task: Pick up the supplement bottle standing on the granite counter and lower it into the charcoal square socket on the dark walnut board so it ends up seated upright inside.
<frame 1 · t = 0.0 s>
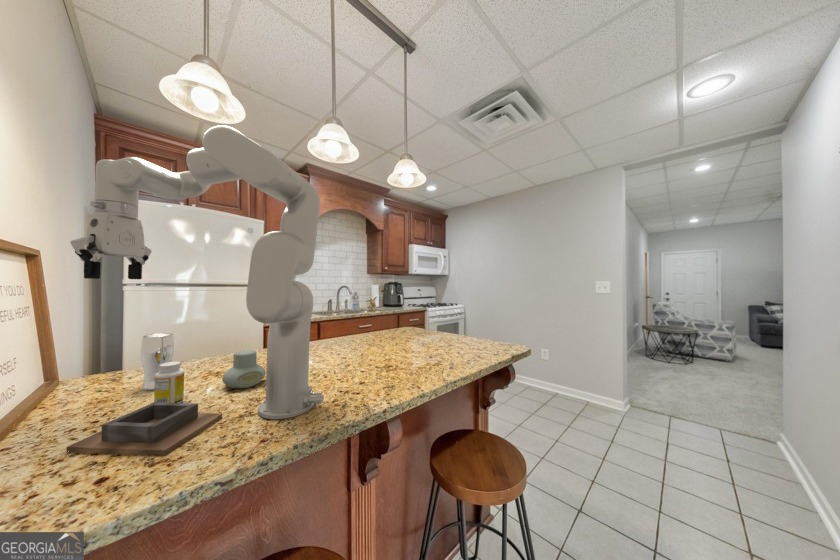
hand: (114, 278, 71), 31 cm above the countertop, tool pointing down, fingers open, 9 cm apart
air freshener: (244, 386, 84), on the countertop
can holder: (153, 433, 57), on the countertop
supplement bottle: (168, 405, 70), on the countertop
beer glass: (156, 387, 82), on the countertop
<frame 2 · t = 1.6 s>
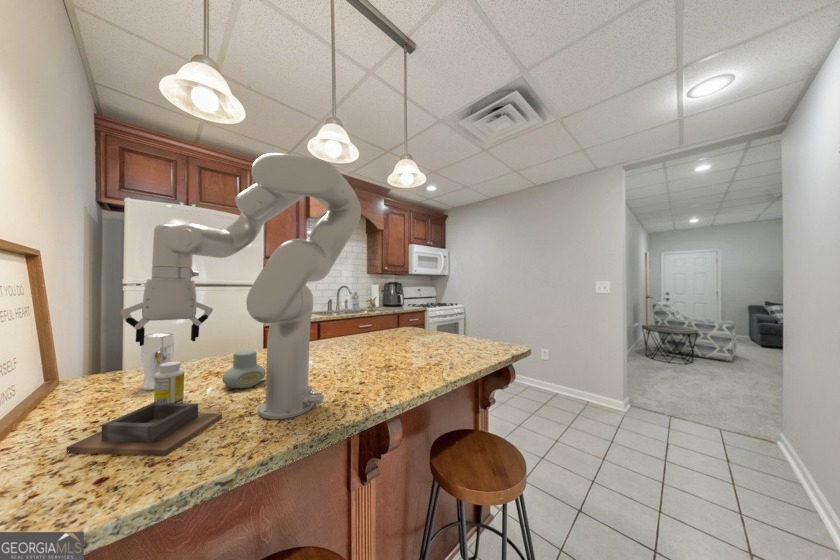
hand: (168, 342, 70), 15 cm above the countertop, tool pointing down, fingers open, 9 cm apart
nothing on the countertop moved.
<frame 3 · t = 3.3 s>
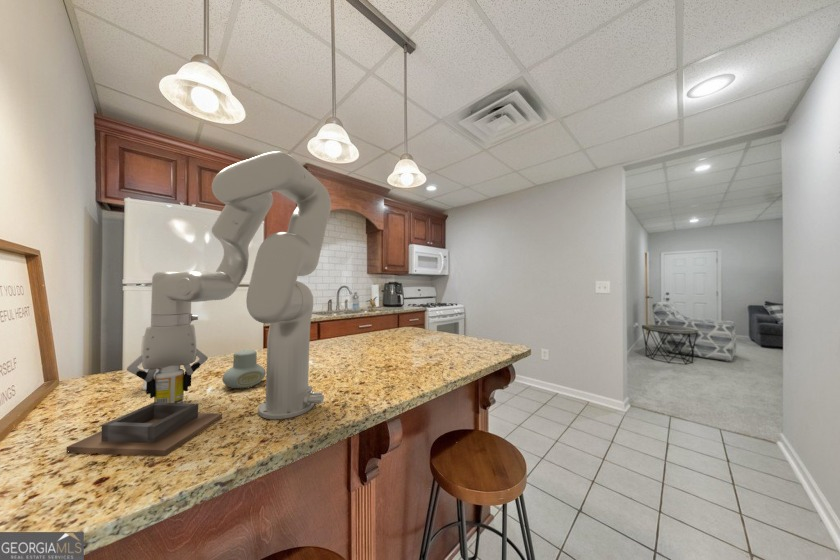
hand: (169, 392, 70), 3 cm above the countertop, tool pointing down, fingers closed on supplement bottle, 5 cm apart
supplement bottle: (168, 405, 70), on the countertop, touching gripper
everything else where it was.
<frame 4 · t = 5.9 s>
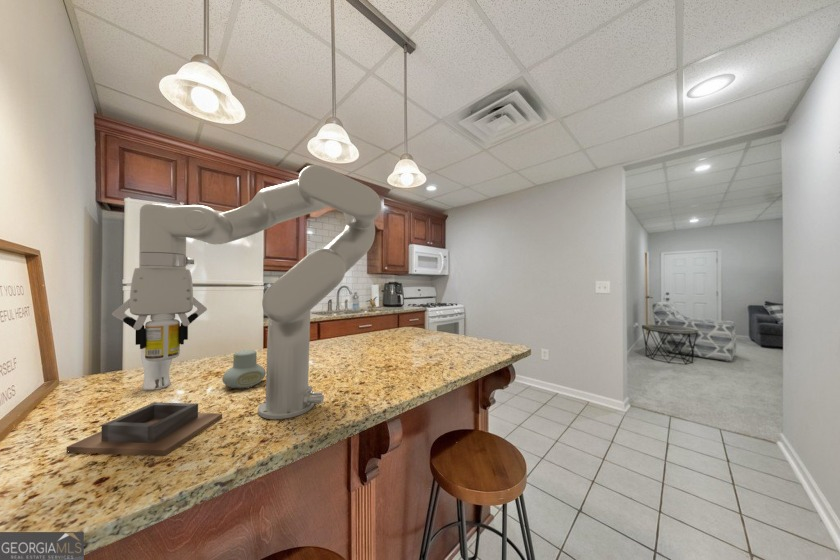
hand: (162, 344, 61), 17 cm above the countertop, tool pointing down, fingers closed on supplement bottle, 5 cm apart
supplement bottle: (162, 359, 61), point 14 cm above the countertop, touching gripper
everything else where it was.
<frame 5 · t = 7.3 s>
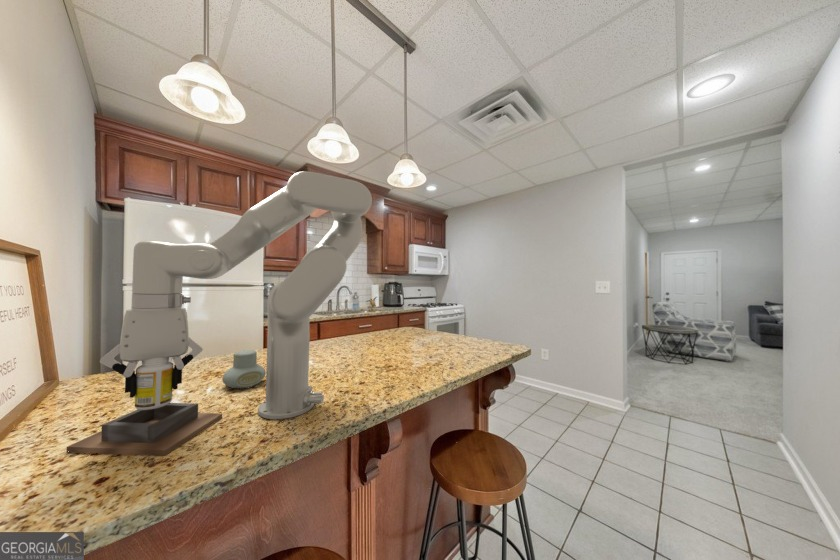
hand: (154, 390, 57), 9 cm above the countertop, tool pointing down, fingers closed on supplement bottle, 5 cm apart
supplement bottle: (153, 406, 57), point 5 cm above the countertop, touching gripper
everything else where it was.
when the fingers open (5 cm above the countertop, at t = 8.5 s): supplement bottle drops 1 cm, resting on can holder.
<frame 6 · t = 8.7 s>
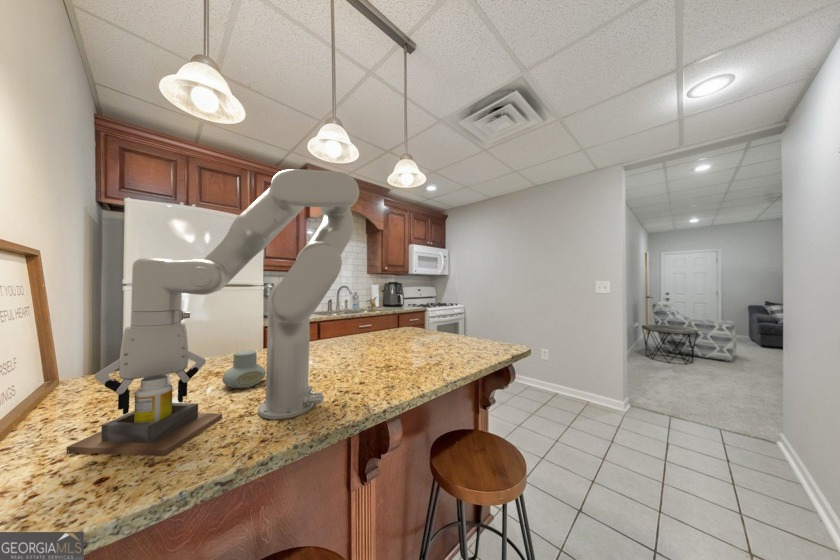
hand: (154, 405, 57), 6 cm above the countertop, tool pointing down, fingers open, 7 cm apart
supplement bottle: (153, 429, 57), point 1 cm above the countertop, touching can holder
everything else where it was.
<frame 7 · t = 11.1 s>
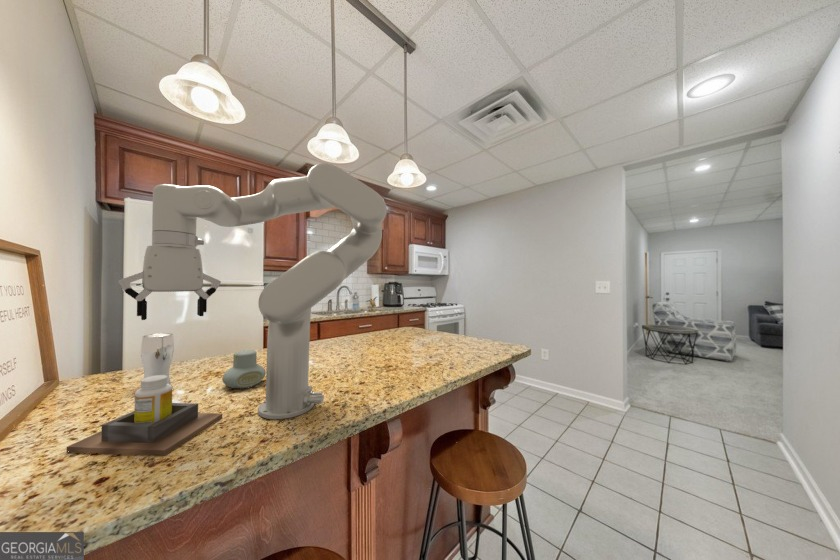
hand: (173, 317, 63), 23 cm above the countertop, tool pointing down, fingers open, 9 cm apart
nothing on the countertop moved.
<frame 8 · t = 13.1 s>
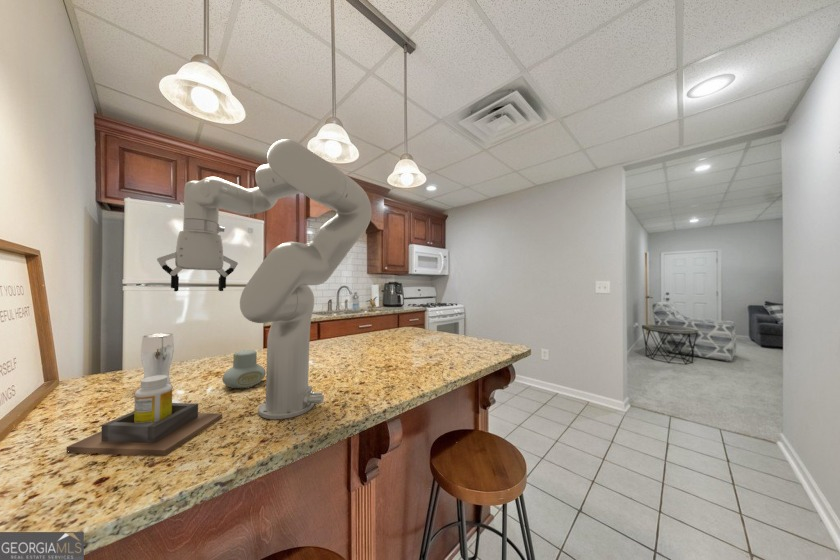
hand: (199, 291, 77), 28 cm above the countertop, tool pointing down, fingers open, 9 cm apart
nothing on the countertop moved.
at the end: supplement bottle 0.1 cm off-centre on the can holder, point 0.8 cm above the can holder's base; supplement bottle tilted 0°; the gripper is holding nothing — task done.
